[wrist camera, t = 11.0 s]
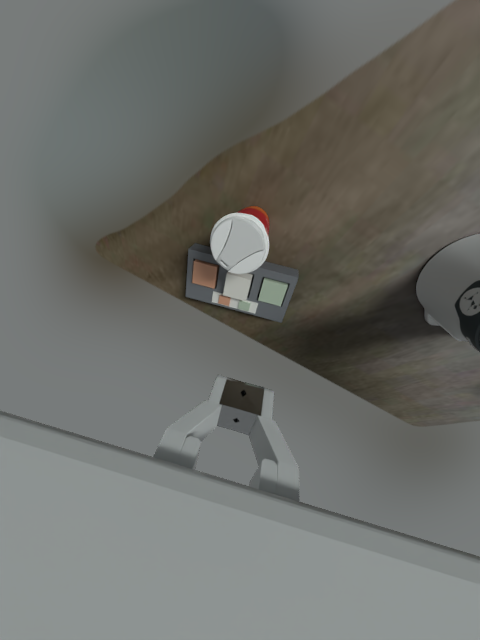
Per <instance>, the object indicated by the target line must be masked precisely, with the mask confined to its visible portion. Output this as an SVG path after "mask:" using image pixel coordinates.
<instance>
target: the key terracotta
mask: <svg viewBox="0 0 480 640" xmlns="http://www.w3.org/2000/svg"><path fill="white" fill-rule="evenodd" d="M219 267H220V265H217V264H213V263H209V262H205V261H201V260H198V259H196V260H195V261H194V265H193V279H192V283H195V284H199V285H202V286H206V287H210V288H213V289H214V288H215V287H216V285H217V281H218V274H219Z"/></svg>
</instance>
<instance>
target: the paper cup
mask: <svg viewBox="0 0 480 640" xmlns="http://www.w3.org/2000/svg"><path fill="white" fill-rule="evenodd" d="M268 234H269V218H268V216H267V214H266V212H265V211H264V210H263V209H261V208H259V207H256V206H250V207H247V208H244V209H242V210H240V211H239V212H237V213H232V214H229V215H226V216H224V217H222V218H221V219H220V220H219V221H218V222H217V223H216V224H215V226H214V228H213V230H212V232H211V236H210V247H211V251H212V254H213V257H214V259H215V260H216V261H217V262H218V263H219V264H220V265H221V266H222V267H223V268H224V269H226V270H228V272H231V273H235V274H245V273H250V272H252V271H254V270H256V269H258V268H259V267H260V266H261V265H262V264H263V263H264V261H265V259H266V257H267V255H268V251H269V238H268Z"/></svg>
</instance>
